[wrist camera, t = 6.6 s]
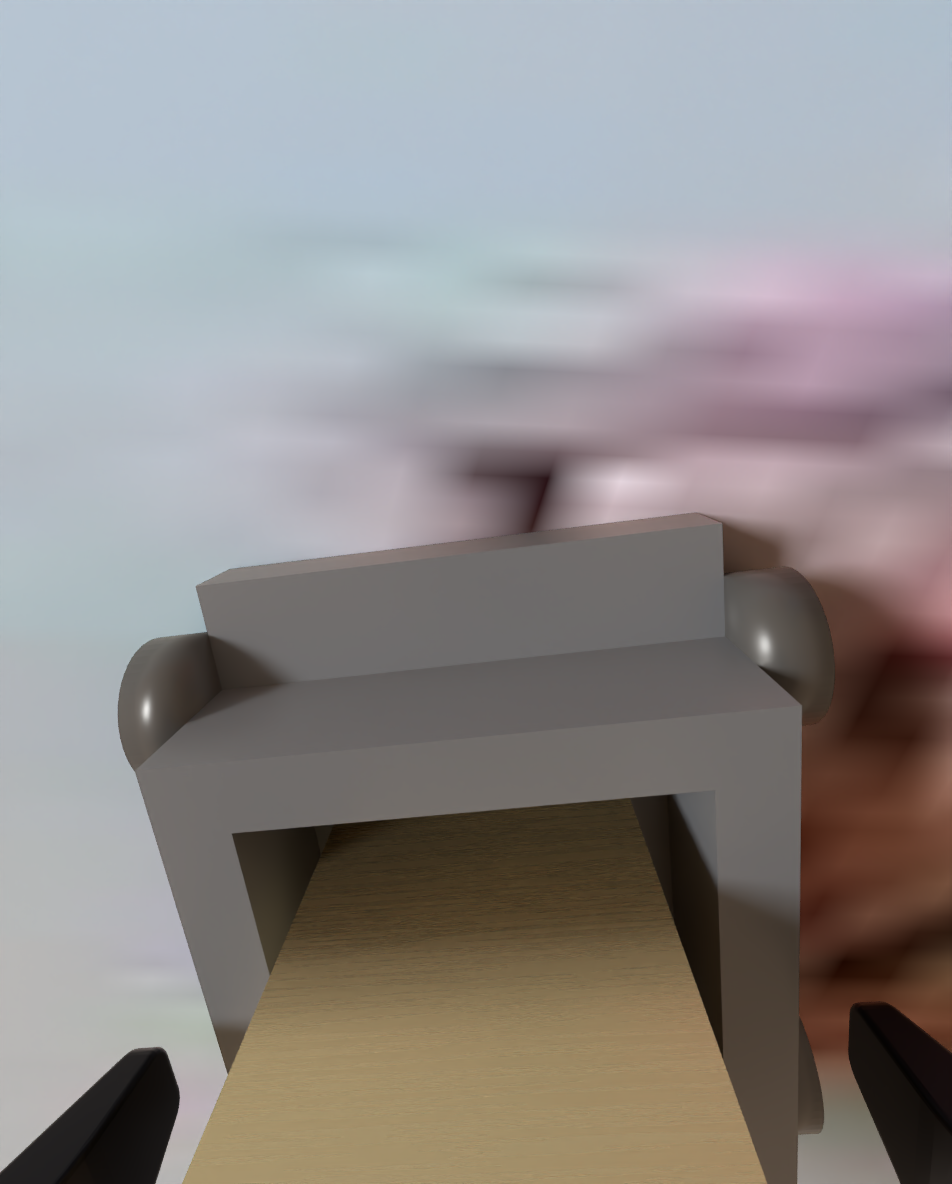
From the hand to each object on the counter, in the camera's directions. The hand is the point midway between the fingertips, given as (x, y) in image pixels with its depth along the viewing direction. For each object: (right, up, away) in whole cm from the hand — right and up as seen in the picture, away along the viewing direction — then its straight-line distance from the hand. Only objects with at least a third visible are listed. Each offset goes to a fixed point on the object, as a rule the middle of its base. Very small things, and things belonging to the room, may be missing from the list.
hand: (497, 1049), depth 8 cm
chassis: (0, +1, +4) cm, 4 cm away
